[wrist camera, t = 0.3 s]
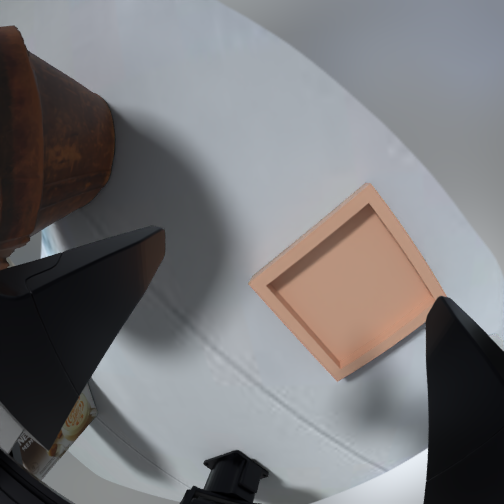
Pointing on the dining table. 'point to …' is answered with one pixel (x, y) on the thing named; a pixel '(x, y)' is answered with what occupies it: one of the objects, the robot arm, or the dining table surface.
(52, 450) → the coffee box
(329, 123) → the dining table surface
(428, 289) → the terracotta dish
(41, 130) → the brown flower pot
